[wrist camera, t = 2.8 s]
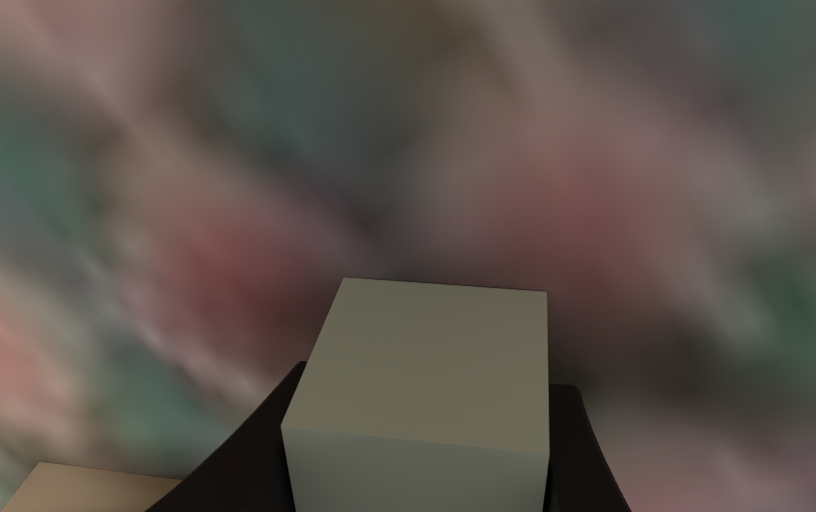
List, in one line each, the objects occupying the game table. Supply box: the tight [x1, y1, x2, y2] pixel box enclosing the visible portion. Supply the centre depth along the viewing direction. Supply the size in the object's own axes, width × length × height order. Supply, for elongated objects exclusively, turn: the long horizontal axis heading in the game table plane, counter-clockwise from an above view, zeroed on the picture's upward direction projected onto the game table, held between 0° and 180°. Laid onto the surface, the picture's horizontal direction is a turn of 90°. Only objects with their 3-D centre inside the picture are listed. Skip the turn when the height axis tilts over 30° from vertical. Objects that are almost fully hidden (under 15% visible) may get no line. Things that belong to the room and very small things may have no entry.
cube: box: [281, 277, 549, 512], centre depth 13 cm, size 4×4×4 cm
